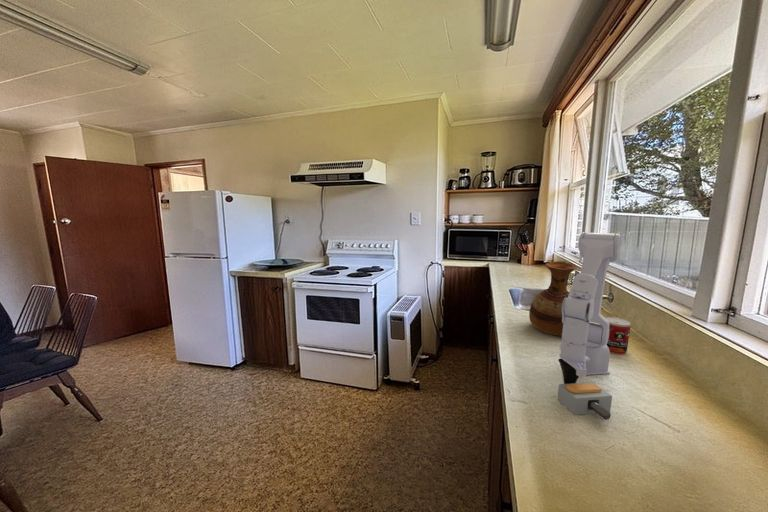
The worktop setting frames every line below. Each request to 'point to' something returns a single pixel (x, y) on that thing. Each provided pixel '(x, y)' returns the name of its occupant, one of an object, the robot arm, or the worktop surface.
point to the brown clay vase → (552, 299)
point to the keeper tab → (583, 388)
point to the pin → (599, 409)
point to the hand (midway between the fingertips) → (568, 386)
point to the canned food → (618, 335)
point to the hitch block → (583, 400)
